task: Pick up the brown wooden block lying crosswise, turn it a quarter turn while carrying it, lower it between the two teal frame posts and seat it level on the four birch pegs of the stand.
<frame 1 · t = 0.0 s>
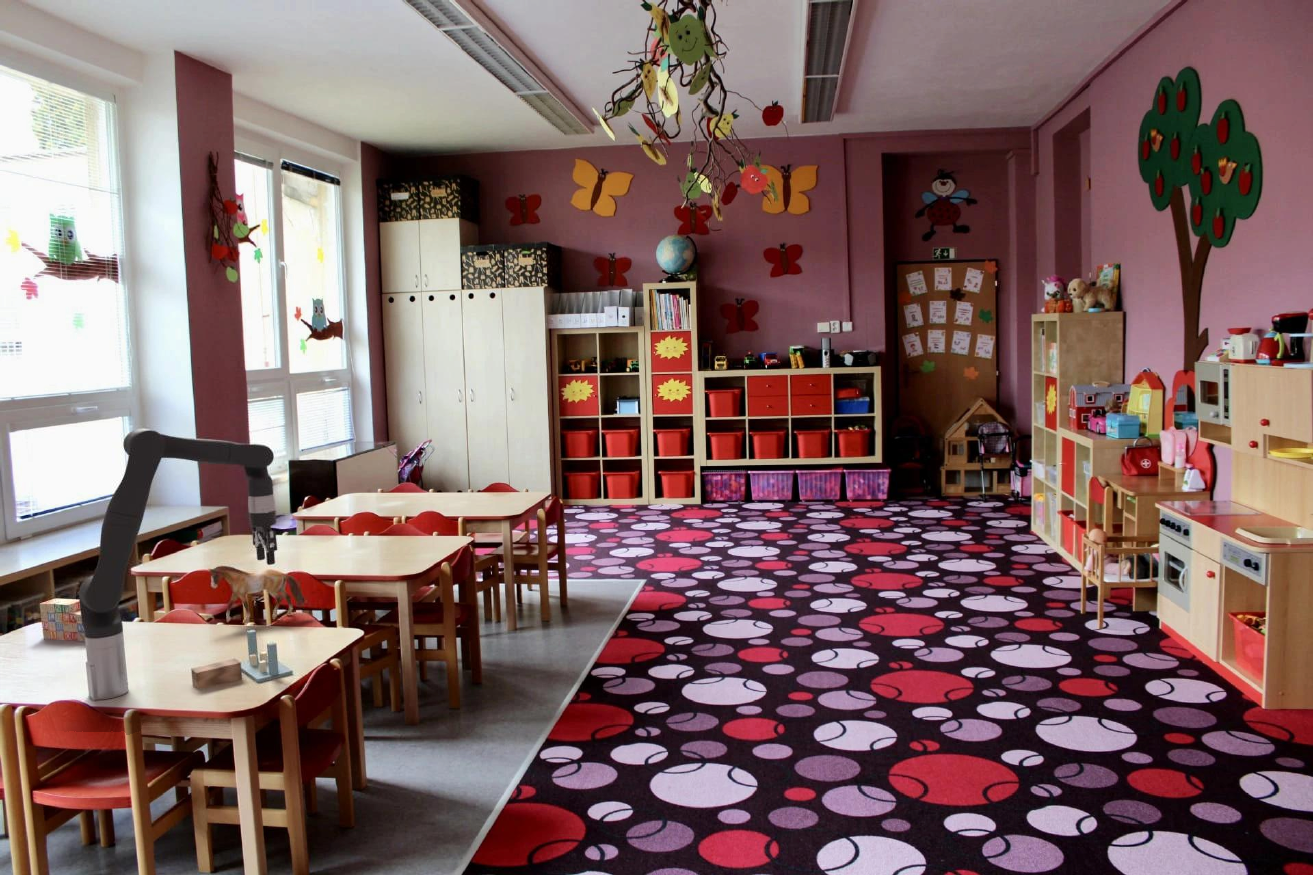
hand: (266, 562, 297), 29 cm above the table, fingers open, 8 cm apart
peg stand: (263, 670, 287), on the table
horse figurine: (261, 622, 337), on the table
brown wooden block: (217, 682, 279), on the table
stack of blocks: (75, 638, 326), on the table
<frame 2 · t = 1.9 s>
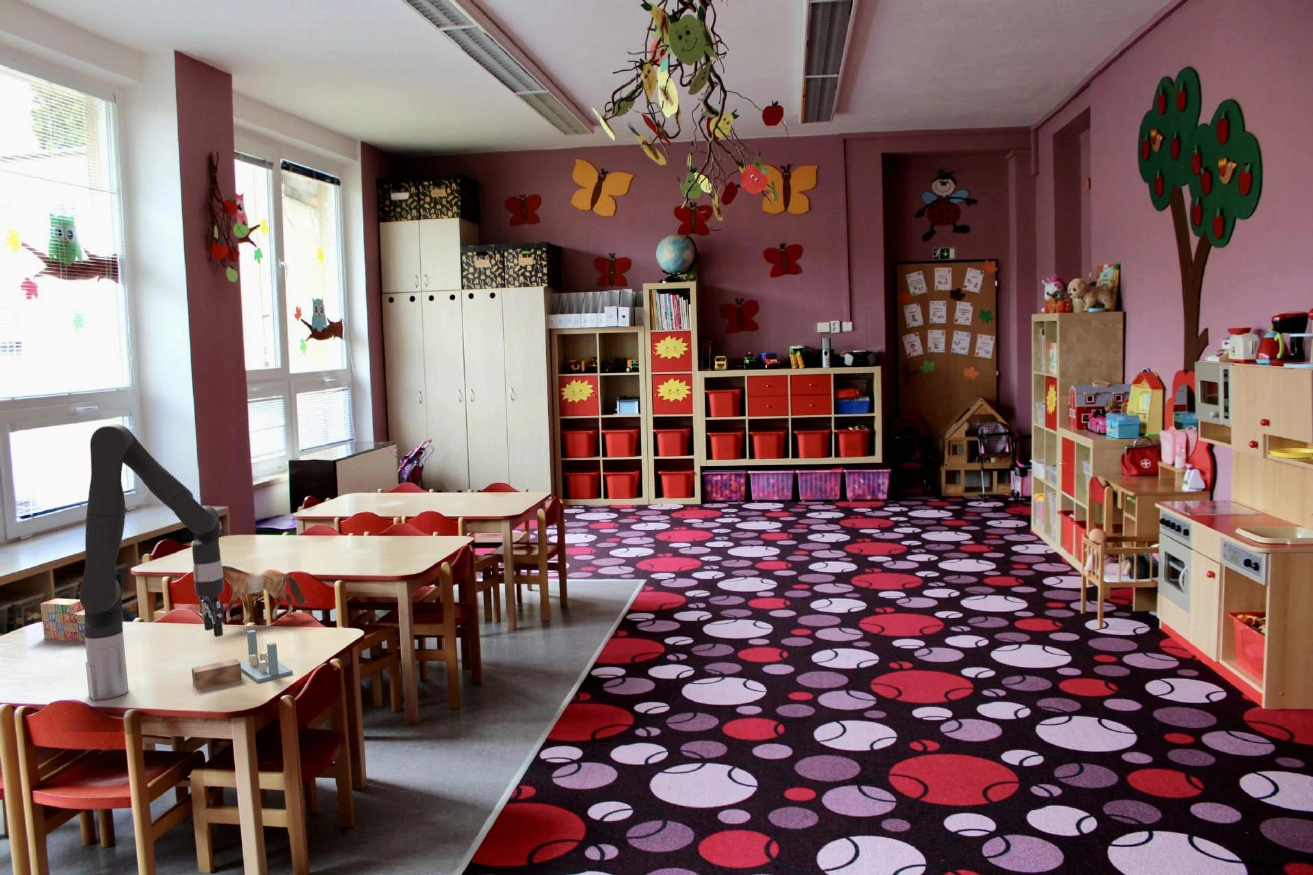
hand: (213, 632, 277), 14 cm above the table, fingers open, 8 cm apart
nothing on the table moved.
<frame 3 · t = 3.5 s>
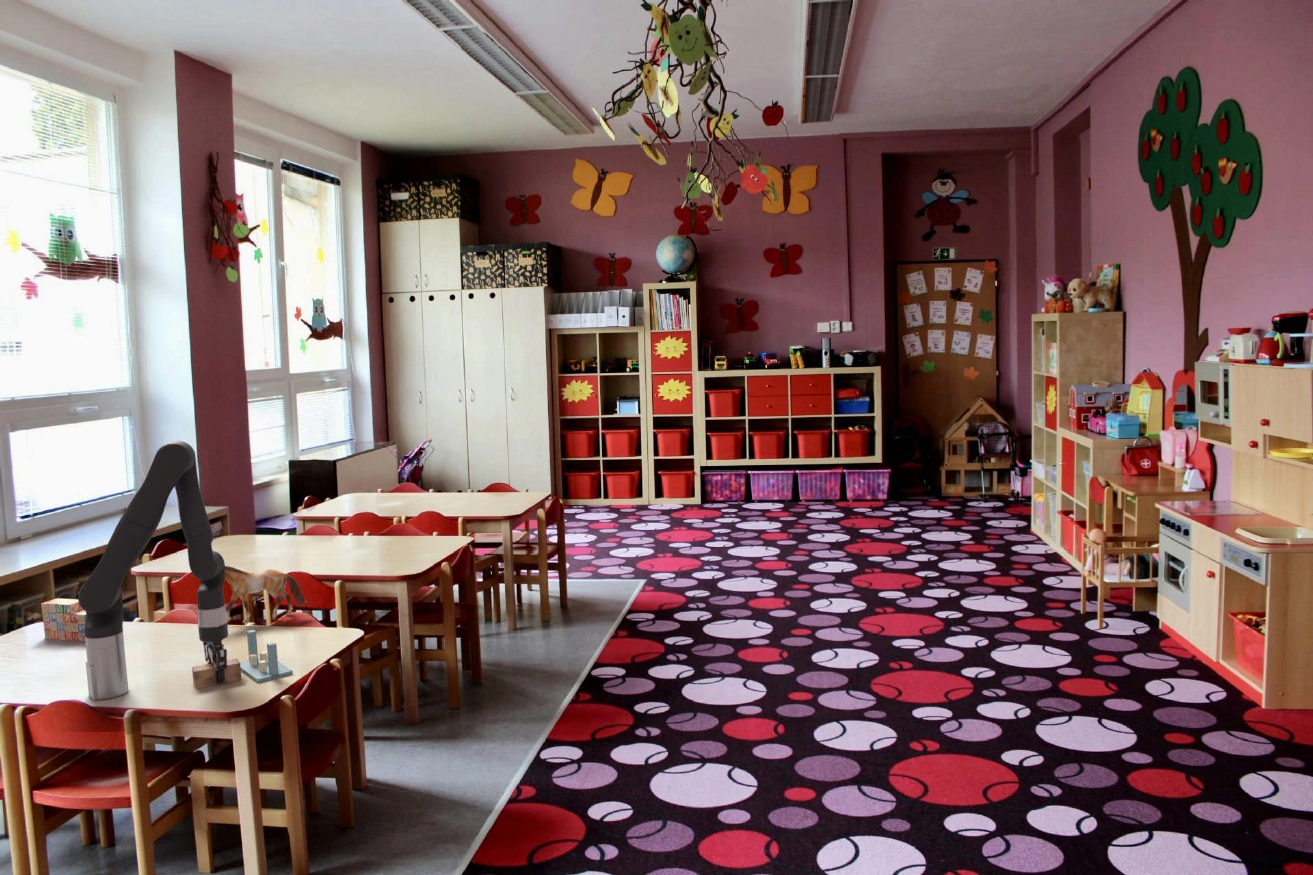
hand: (217, 679, 278), 1 cm above the table, fingers closed on brown wooden block, 5 cm apart
brown wooden block: (217, 681, 279), on the table, touching gripper
everything else where it was.
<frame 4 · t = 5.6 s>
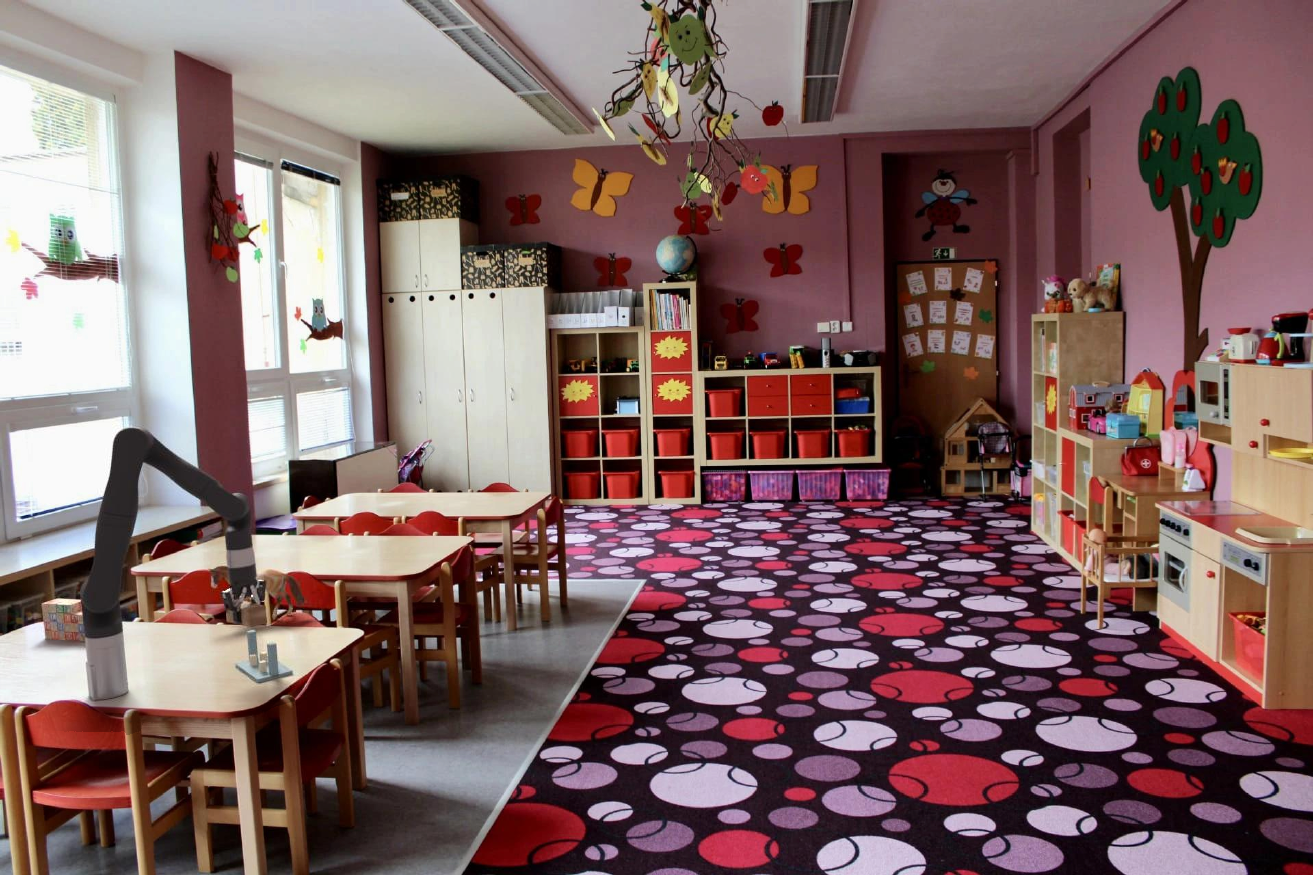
hand: (247, 620, 282), 16 cm above the table, fingers closed on brown wooden block, 5 cm apart
brown wooden block: (247, 622, 282), point 16 cm above the table, touching gripper
everything else where it was.
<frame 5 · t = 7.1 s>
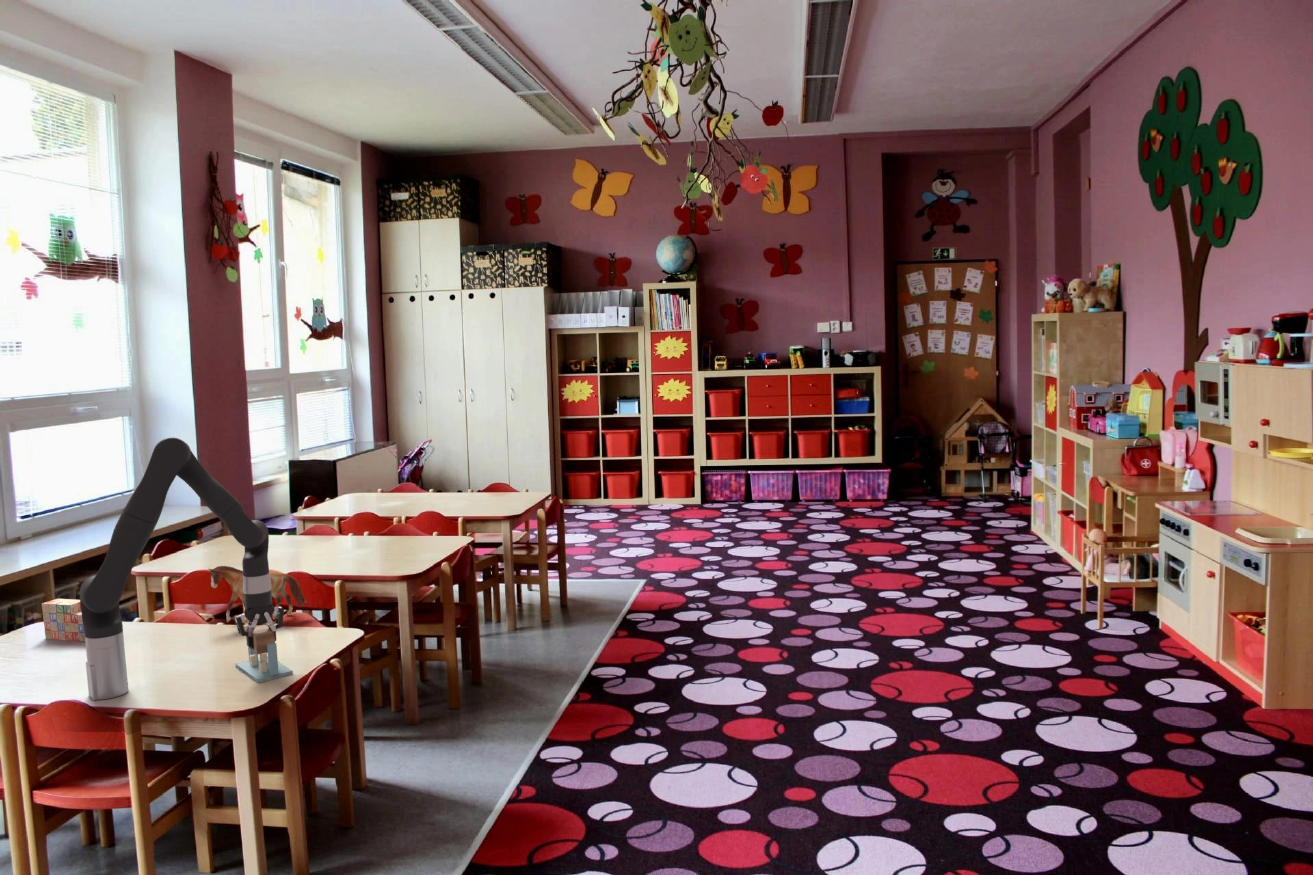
hand: (261, 645, 286), 7 cm above the table, fingers closed on brown wooden block, 5 cm apart
brown wooden block: (262, 647, 286), point 7 cm above the table, touching gripper
everything else where it was.
when the fingers open (5 cm above the table, at t = 7.9 s): brown wooden block stays where it is, resting on peg stand.
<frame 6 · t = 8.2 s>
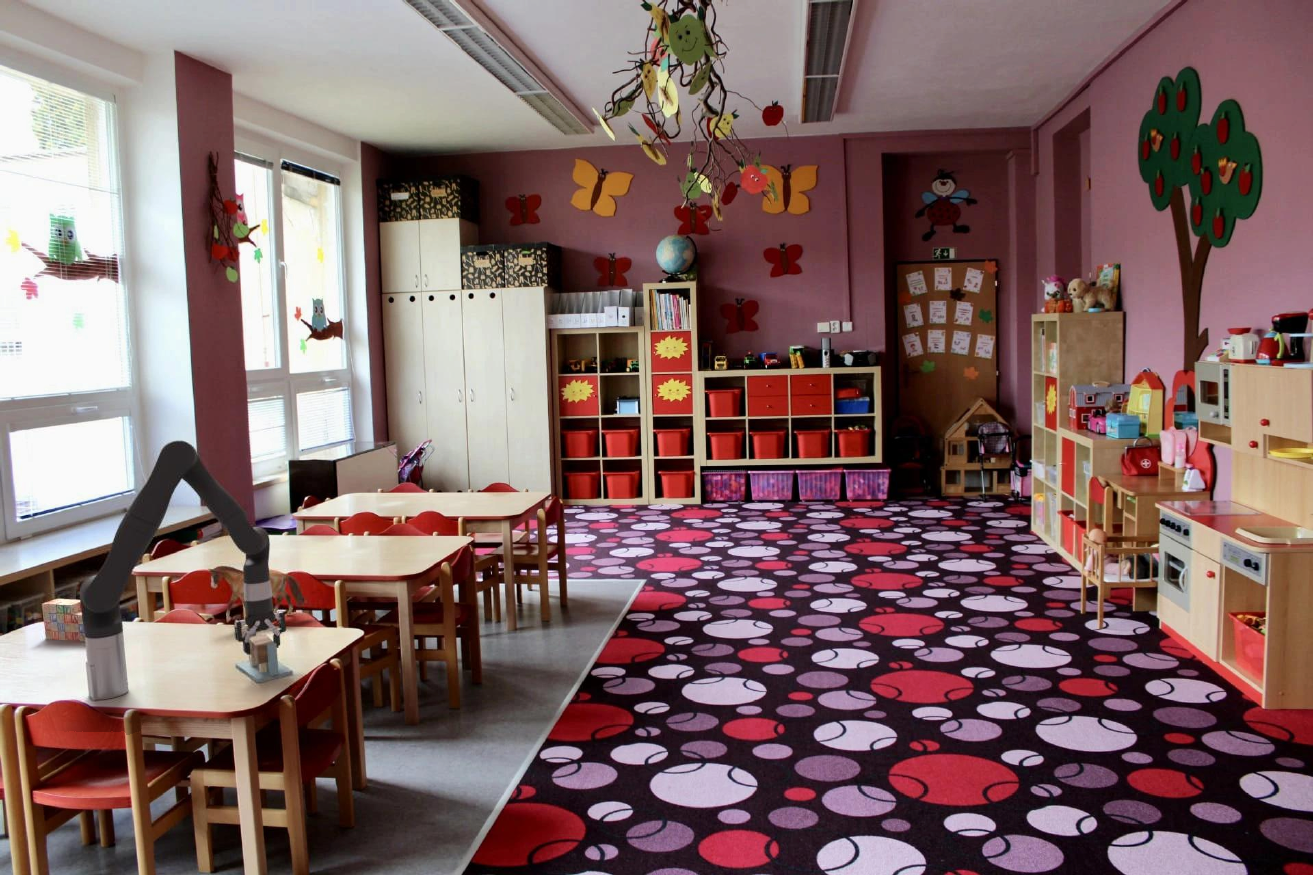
hand: (262, 650, 286), 6 cm above the table, fingers open, 7 cm apart
brown wooden block: (262, 657, 286), point 4 cm above the table, touching peg stand
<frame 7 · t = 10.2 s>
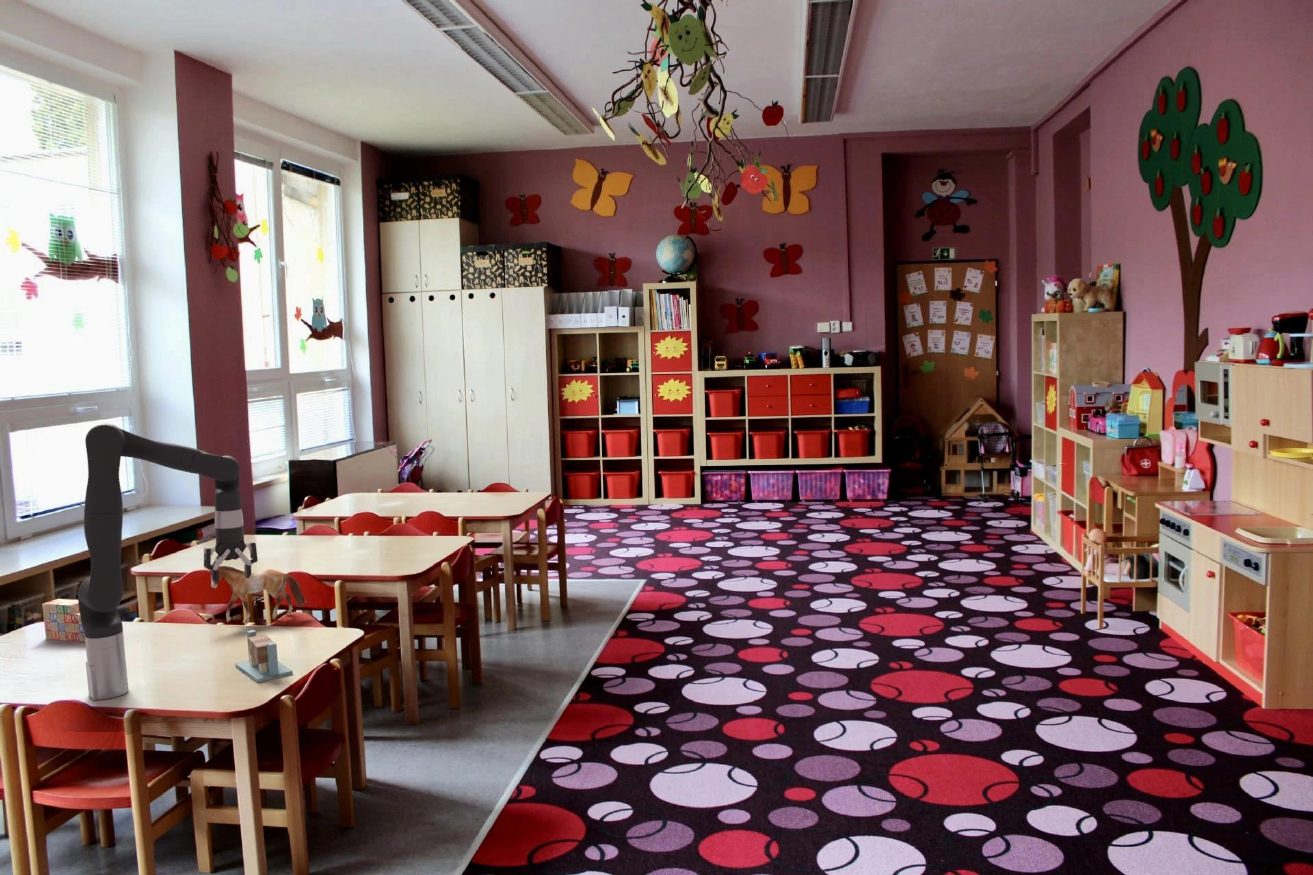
hand: (231, 580, 284), 27 cm above the table, fingers open, 8 cm apart
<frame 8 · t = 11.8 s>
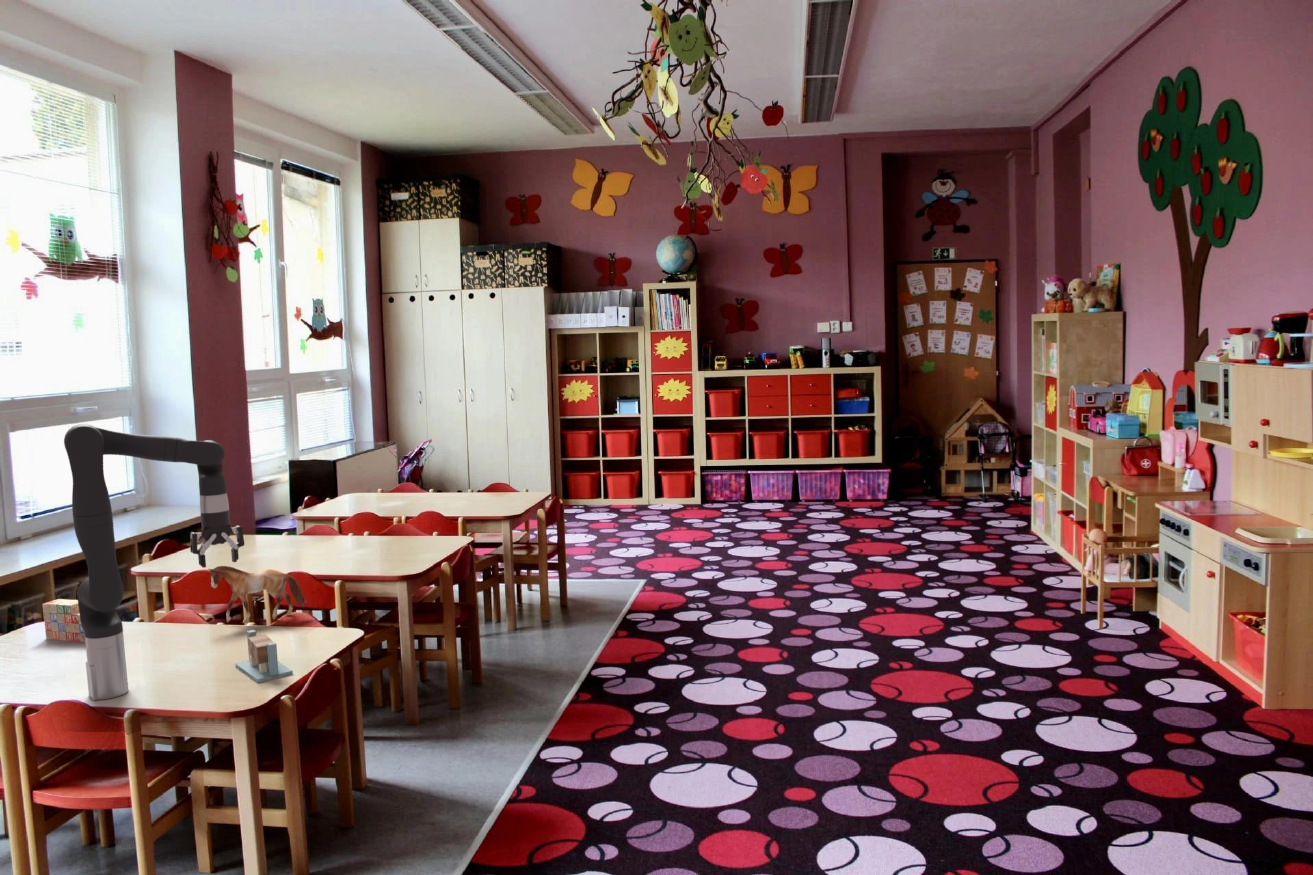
hand: (219, 564, 284), 32 cm above the table, fingers open, 8 cm apart
at the end: brown wooden block 0.0 cm off-centre on the peg stand, point 4.0 cm above the peg stand's base; brown wooden block tilted 0°; the gripper is holding nothing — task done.
